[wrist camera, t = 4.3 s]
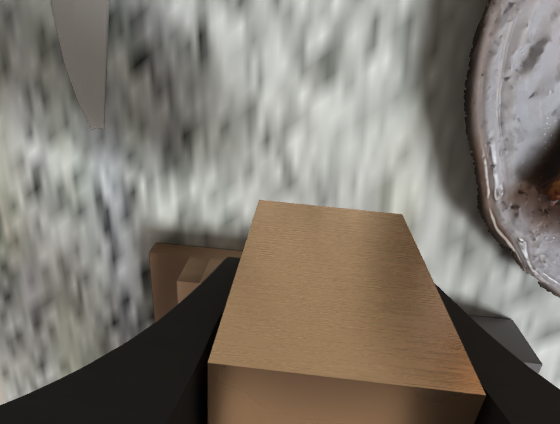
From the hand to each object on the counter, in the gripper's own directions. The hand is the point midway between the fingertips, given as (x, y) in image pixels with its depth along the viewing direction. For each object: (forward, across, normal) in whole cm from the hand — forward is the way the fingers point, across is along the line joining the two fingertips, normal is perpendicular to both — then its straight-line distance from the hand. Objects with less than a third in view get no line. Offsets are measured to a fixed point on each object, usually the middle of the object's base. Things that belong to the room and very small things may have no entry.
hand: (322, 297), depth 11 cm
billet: (+1, 0, 0) cm, 1 cm away
